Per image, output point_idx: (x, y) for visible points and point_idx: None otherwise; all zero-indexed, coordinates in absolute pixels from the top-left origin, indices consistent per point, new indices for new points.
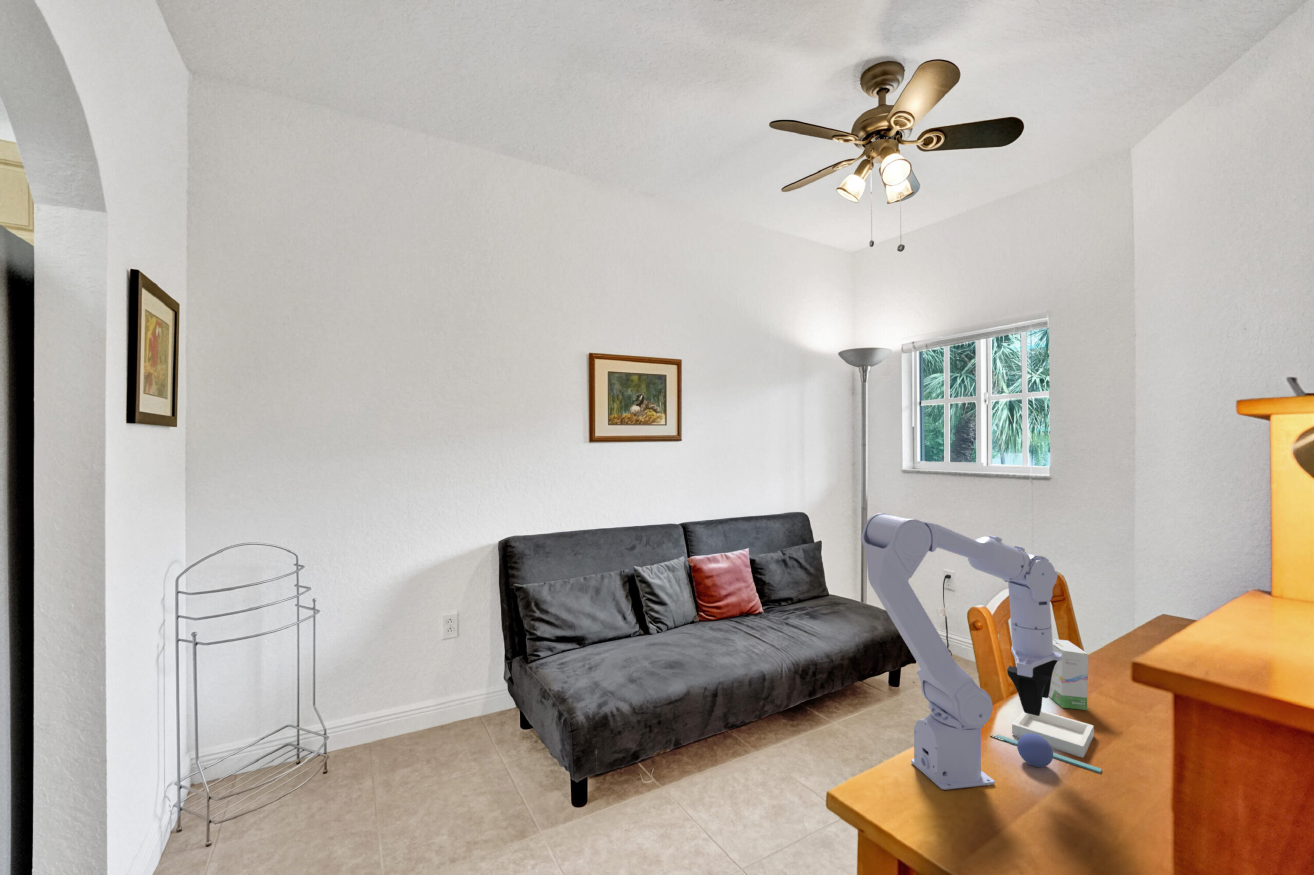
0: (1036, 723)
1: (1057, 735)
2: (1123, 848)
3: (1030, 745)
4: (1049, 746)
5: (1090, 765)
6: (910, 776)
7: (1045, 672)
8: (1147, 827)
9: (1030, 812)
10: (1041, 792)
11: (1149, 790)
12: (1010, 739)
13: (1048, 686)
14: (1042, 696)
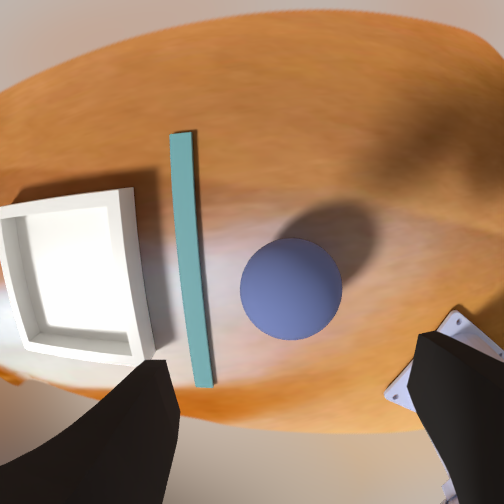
0: (55, 317)
1: (71, 266)
2: (491, 79)
3: (337, 302)
4: (296, 256)
5: (173, 159)
6: None
7: (108, 496)
8: (390, 30)
9: (499, 228)
10: (421, 227)
11: (192, 35)
12: (194, 350)
13: (140, 405)
14: (494, 381)
